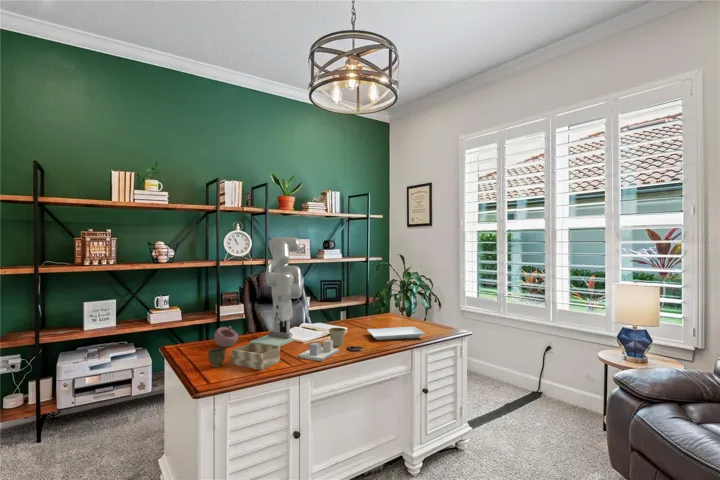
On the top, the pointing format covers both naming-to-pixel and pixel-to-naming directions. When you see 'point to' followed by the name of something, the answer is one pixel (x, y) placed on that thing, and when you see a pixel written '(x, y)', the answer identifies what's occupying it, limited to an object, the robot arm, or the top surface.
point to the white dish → (319, 357)
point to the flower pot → (337, 336)
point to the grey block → (315, 348)
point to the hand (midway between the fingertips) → (283, 333)
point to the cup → (216, 356)
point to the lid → (273, 339)
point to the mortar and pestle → (225, 337)
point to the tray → (395, 333)
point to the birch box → (256, 356)
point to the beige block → (327, 345)
